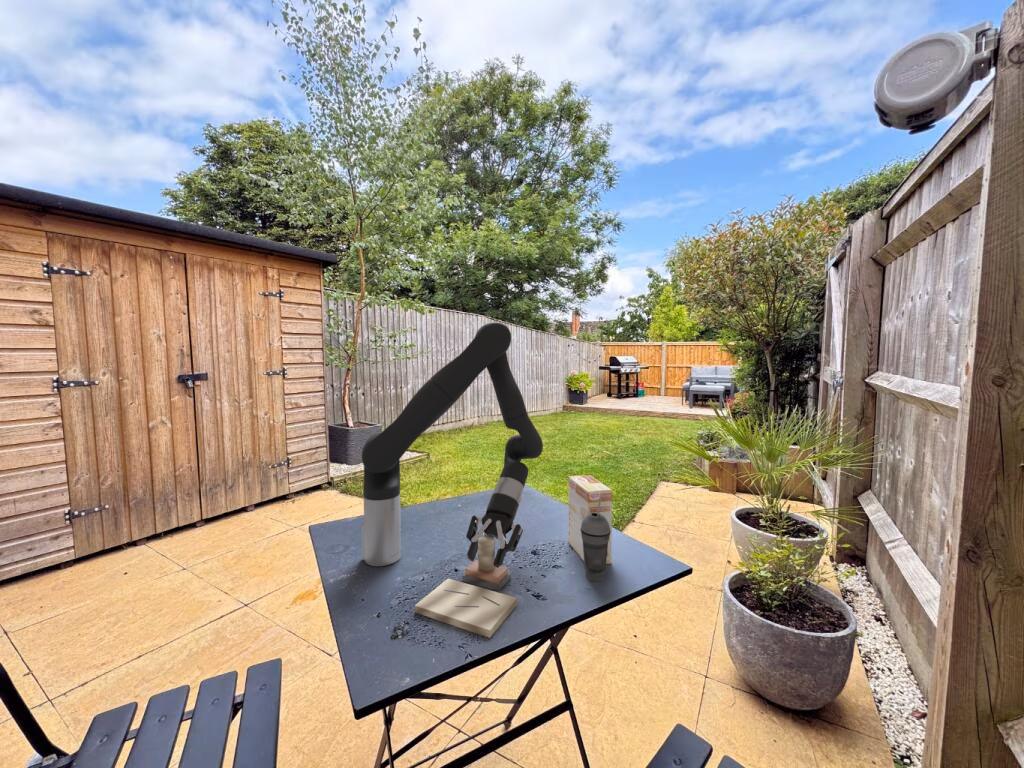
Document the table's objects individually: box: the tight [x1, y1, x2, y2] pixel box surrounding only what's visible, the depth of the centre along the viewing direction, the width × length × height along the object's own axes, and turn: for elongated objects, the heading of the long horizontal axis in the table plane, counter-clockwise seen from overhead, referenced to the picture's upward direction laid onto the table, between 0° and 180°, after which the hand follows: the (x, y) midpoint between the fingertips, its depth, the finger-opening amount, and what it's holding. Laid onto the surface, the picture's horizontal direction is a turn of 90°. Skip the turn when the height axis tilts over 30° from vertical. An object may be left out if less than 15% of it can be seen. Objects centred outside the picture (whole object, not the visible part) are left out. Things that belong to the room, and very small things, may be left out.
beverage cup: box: [580, 497, 611, 582], centre depth 101 cm, size 7×7×20 cm
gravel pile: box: [385, 619, 411, 640], centre depth 82 cm, size 7×8×2 cm
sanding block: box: [461, 536, 512, 592], centre depth 100 cm, size 10×6×10 cm, turn 64°
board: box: [414, 578, 518, 638], centre depth 88 cm, size 18×12×2 cm, turn 64°
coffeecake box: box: [567, 474, 613, 565], centre depth 114 cm, size 15×7×20 cm, turn 12°
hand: (483, 562), depth 98 cm, fingers open, 6 cm apart
